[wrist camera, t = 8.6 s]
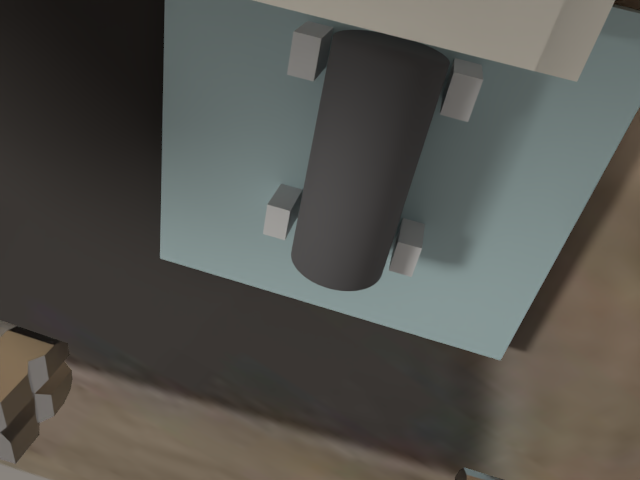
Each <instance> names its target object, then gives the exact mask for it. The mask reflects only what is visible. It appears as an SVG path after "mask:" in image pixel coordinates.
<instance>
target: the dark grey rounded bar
mask: <svg viewBox="0 0 640 480" xmlns="http://www.w3.org/2000/svg"><path fill="white" fill-rule="evenodd" d="M449 65H450V61H449V59H448V58H447V57H446V56H445V55H443V54H442V53H440V52H439V51H437V50H435V49H433V48H431V47H429V46H427V45H424V44H422V43H419V42H416V41H412V40H408V39H404V38H400V37H396V36H392V35H388V34H384V33H380V32H375V31H367V30H342V31H338V32H336V33H334V34H333V37H332V42H331V47H330V53H329V58H328V63H327V68H326V73H325V79H324V84H323V89H322V94H321V100H320V105H319V110H318V115H317V120H316V126H315V131H314V136H313V141H312V146H311V152H310V157H309V162H308V167H307V172H306V178H305V183H304V188H303V193H302V198H301V204H300V209H299V214H298V219H297V225H296V230H295V235H294V240H293V245H292V251H291V259H292V262H293V264H294V266H295V267H296V269H297V270H298V271H299V272H300V273H301V274H302V275H303V276H304V277H306V278H307V279H308V280H310V281H312V282H314V283H316V284H318V285H320V286H323V287H326V288H329V289H333V290H339V291H358V290H363V289H366V288H369V287H371V286H373V285H374V284H376V283H377V282H378V281H379V279H380V278H381V276H382V273H383V270H384V267H385V264H386V261H387V257H388V254H389V251H390V248H391V245H392V242H393V239H394V236H395V233H396V229H397V226H398V223H399V220H400V217H401V214H402V211H403V208H404V205H405V202H406V198H407V195H408V192H409V189H410V186H411V183H412V180H413V177H414V174H415V170H416V167H417V164H418V161H419V158H420V155H421V152H422V149H423V146H424V143H425V139H426V136H427V133H428V130H429V127H430V124H431V121H432V118H433V115H434V112H435V108H436V105H437V102H438V99H439V96H440V93H441V90H442V87H443V84H444V80H445V77H446V74H447V71H448V68H449Z"/></svg>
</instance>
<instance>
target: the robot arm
mask: <svg viewBox="0 0 640 480" xmlns="http://www.w3.org/2000/svg"><path fill="white" fill-rule="evenodd" d="M69 355H70V354H69V349H68V343H65V342H62V341H59V340H57V339H54V338H51V337H48V336H45V335H42V334H39V333H36V332H33V331H30V330H27V329H24V328H21V327H19V326H16V325H13V324H9V323H6V322H3V321H0V459H1V460H5V461H8V462H11V463H14V464H16V463H17V462H18V460H19V459H20V458H21V457H22V455H23V454H24V453H25V452H26V450H27V449H28V448H29V447H30V446H31V444H32V443H33V442H34V441H35V439H36V438H37V437H38V436H39V423H40V422H42V421H44V420H47V419H49V418H51V417H53V416H55V414H56V413H57V412H58V410H59V409H60V408H61V407H62V405H63V404H64V402H65V400H66V398H67V396H68V394H69V391H70V389H71V384H72V370H71V369H70V368H69V367H68V365H67V364H66V363H65V362H64V361H65V360H66V359H67V357H68V356H69ZM455 480H503V479H500V478H497V477H493V476H490V475H487V474H483V473H480V472H477V471H473V470H470V469H467V468H462V469H460V470H459V472H458V473H457V475H456V477H455Z"/></svg>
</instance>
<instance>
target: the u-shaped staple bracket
mask: <svg viewBox="0 0 640 480" xmlns="http://www.w3.org/2000/svg"><path fill="white" fill-rule="evenodd" d="M253 1H257V2H261V3H265V4H269V5H273V6H277V7H281V8H285V9H289V10H293V11H297V12H301V13H305V14H309V15H313V16H317V17H321V18H325V19H329V20H333V21H337V22H340V23H344V24H348V25H352V26H356V27H360V28H364V29H368V30H372V31H376V32H380V33H384V34H388V35H392V36H396V37H400V38H404V39H408V40H412V41H416V42H420V43H424V44H428V45H432V46H436V47H440V48H444V49H448V50H452V51H456V52H460V53H464V54H468V55H472V56H476V57H480V58H484V59H488V60H492V61H496V62H500V63H504V64H508V65H512V66H516V67H520V68H524V69H528V70H532V71H535V72H539V73H543V74H547V75H551V76H555V77H559V78H563V79H567V80H571V81H575V82H577V81H578V79H579V77H580V75H581V72H582V70H583V68H584V66H585V64H586V62H587V60H588V57H589V55H590V53H591V51H592V49H593V47H594V45H595V42H596V40H597V38H598V36H599V34H600V32H601V30H602V27H603V25H604V23H605V21H606V19H607V17H608V15H609V12H610V10H611V8H612V6H613V4H614V2H615V0H253Z"/></svg>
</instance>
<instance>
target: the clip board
mask: <svg viewBox="0 0 640 480" xmlns="http://www.w3.org/2000/svg"><path fill="white" fill-rule="evenodd" d="M342 30H367V31H372V30H368V29H364V28H360V27H356V26H352V25H348V24H344V23H340V22H337V21H333V20H329V19H325V18H321V17H317V16H313V15H309V14H305V13H301V12H297V11H293V10H289V9H285V8H281V7H277V6H273V5H269V4H265V3H261V2H257V1H253V0H165V17H164V71H163V126H162V180H161V235H160V258H161V259H164V260H167V261H171V262H174V263H177V264H181V265H184V266H187V267H191V268H194V269H197V270H201V271H204V272H207V273H211V274H214V275H217V276H221V277H224V278H227V279H231V280H234V281H237V282H241V283H244V284H247V285H251V286H254V287H257V288H261V289H264V290H267V291H271V292H274V293H277V294H281V295H284V296H287V297H291V298H294V299H297V300H301V301H304V302H307V303H311V304H314V305H317V306H321V307H324V308H327V309H331V310H334V311H337V312H341V313H344V314H347V315H351V316H354V317H357V318H361V319H364V320H367V321H371V322H374V323H377V324H381V325H384V326H387V327H391V328H394V329H397V330H401V331H404V332H407V333H411V334H414V335H417V336H421V337H424V338H427V339H431V340H434V341H437V342H441V343H444V344H447V345H451V346H454V347H457V348H461V349H464V350H467V351H471V352H474V353H477V354H481V355H484V356H487V357H491V358H494V359H497V360H501V358H502V357H503V355H504V353H505V351H506V349H507V347H508V346H509V344H510V342H511V340H512V338H513V337H514V335H515V333H516V331H517V329H518V327H519V326H520V324H521V322H522V320H523V318H524V316H525V315H526V313H527V311H528V309H529V307H530V306H531V304H532V302H533V300H534V298H535V296H536V295H537V293H538V291H539V289H540V287H541V285H542V284H543V282H544V280H545V278H546V276H547V275H548V273H549V271H550V269H551V267H552V265H553V264H554V262H555V260H556V258H557V256H558V254H559V253H560V251H561V249H562V247H563V245H564V244H565V242H566V240H567V238H568V236H569V234H570V233H571V231H572V229H573V227H574V225H575V223H576V222H577V220H578V218H579V216H580V214H581V213H582V211H583V209H584V207H585V205H586V203H587V202H588V200H589V198H590V196H591V194H592V193H593V191H594V189H595V187H596V185H597V183H598V182H599V180H600V178H601V176H602V174H603V172H604V171H605V169H606V167H607V165H608V163H609V162H610V160H611V158H612V156H613V154H614V152H615V151H616V149H617V147H618V145H619V143H620V141H621V140H622V138H623V136H624V134H625V132H626V131H627V129H628V127H629V125H630V123H631V121H632V120H633V118H634V116H635V114H636V112H637V110H638V109H639V107H640V10H636V9H632V8H628V7H624V6H619V5H615V4H613V6H612V8H611V10H610V12H609V15H608V17H607V19H606V21H605V23H604V25H603V27H602V30H601V32H600V34H599V36H598V38H597V40H596V42H595V45H594V47H593V49H592V51H591V53H590V55H589V57H588V60H587V62H586V64H585V66H584V68H583V70H582V72H581V75H580V77H579V79H578V81H577V82H575V81H571V80H567V79H563V78H559V77H555V76H551V75H547V74H543V73H539V72H535V71H532V70H528V69H524V68H520V67H516V66H512V65H508V64H504V63H500V62H496V61H492V60H488V59H484V58H480V57H476V56H472V55H468V54H464V53H460V52H456V51H452V50H448V49H444V48H440V47H436V46H432V45H428V44H424V43H422V44H424V45H427V46H429V47H431V48H433V49H435V50H437V51H439V52H440V53H442V54H443V55H445V56H446V57H447V58H448V59H449V61H450V65H449V68H448V71H447V74H446V77H445V80H444V84H443V87H442V90H441V93H440V96H439V99H438V102H437V105H436V108H435V112H434V115H433V118H432V121H431V124H430V127H429V130H428V133H427V136H426V139H425V143H424V146H423V149H422V152H421V155H420V158H419V161H418V164H417V167H416V170H415V174H414V177H413V180H412V183H411V186H410V189H409V192H408V195H407V198H406V202H405V205H404V208H403V211H402V214H401V217H400V220H399V223H398V226H397V229H396V233H395V236H394V239H393V242H392V245H391V248H390V251H389V254H388V257H387V261H386V264H385V267H384V270H383V273H382V276H381V278H380V279H379V281H378V282H377V283H376V284H374V285H373V286H371V287H369V288H366V289H363V290H358V291H339V290H333V289H329V288H326V287H323V286H320V285H318V284H316V283H314V282H312V281H310V280H308V279H307V278H306V277H304V276H303V275H302V274H301V273H300V272H299V271H298V270H297V269H296V267H295V266H294V264H293V262H292V259H291V251H292V245H293V240H294V235H295V230H296V225H297V219H298V214H299V209H300V204H301V198H302V193H303V188H304V183H305V178H306V172H307V167H308V162H309V157H310V152H311V146H312V141H313V136H314V131H315V126H316V120H317V115H318V110H319V105H320V100H321V94H322V89H323V84H324V79H325V73H326V68H327V63H328V58H329V53H330V47H331V42H332V37H333V34H334V33H336V32H338V31H342ZM375 32H376V31H375ZM419 43H420V42H419Z"/></svg>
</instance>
